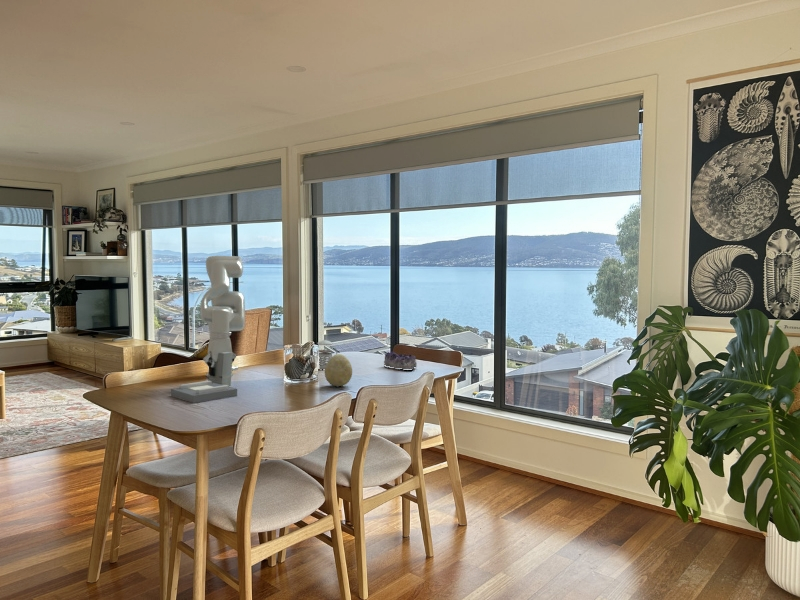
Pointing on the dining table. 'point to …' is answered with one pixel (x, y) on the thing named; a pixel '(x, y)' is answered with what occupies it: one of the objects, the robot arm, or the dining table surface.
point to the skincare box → (222, 369)
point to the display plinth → (203, 396)
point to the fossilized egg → (338, 370)
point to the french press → (325, 352)
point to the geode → (400, 361)
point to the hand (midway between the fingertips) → (220, 374)
